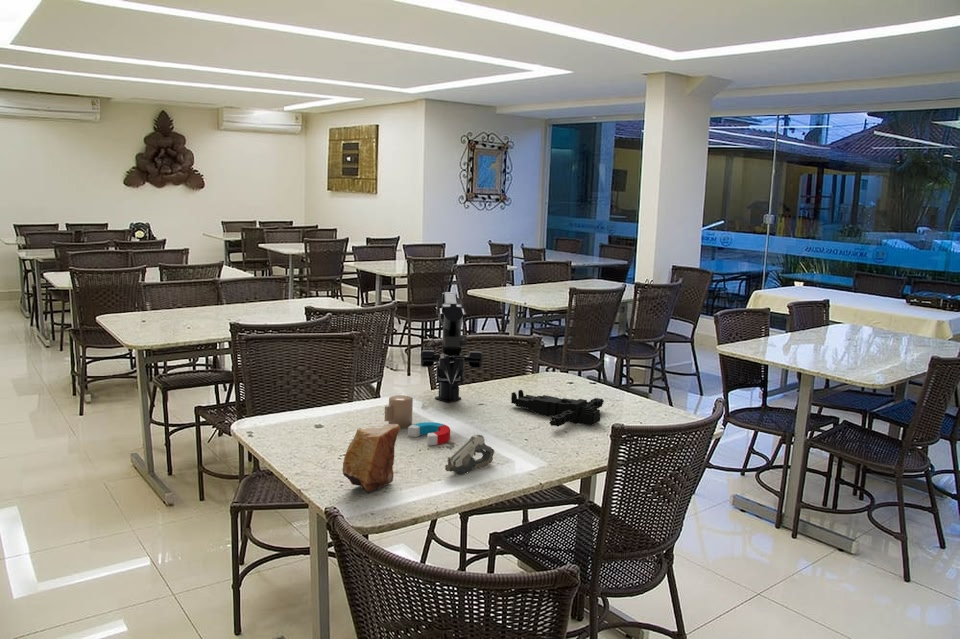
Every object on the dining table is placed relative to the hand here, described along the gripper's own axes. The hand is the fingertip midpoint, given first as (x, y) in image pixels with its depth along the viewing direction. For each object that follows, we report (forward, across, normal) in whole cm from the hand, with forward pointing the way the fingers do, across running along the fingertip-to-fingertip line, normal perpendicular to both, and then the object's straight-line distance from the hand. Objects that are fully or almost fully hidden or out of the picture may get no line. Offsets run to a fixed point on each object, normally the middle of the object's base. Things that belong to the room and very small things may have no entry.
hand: (451, 383), depth 219 cm
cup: (+11, -16, +6) cm, 20 cm away
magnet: (+15, -1, +1) cm, 15 cm away
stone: (+43, -19, -26) cm, 53 cm away
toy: (+2, +33, +16) cm, 37 cm away
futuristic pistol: (+35, +4, -17) cm, 39 cm away
